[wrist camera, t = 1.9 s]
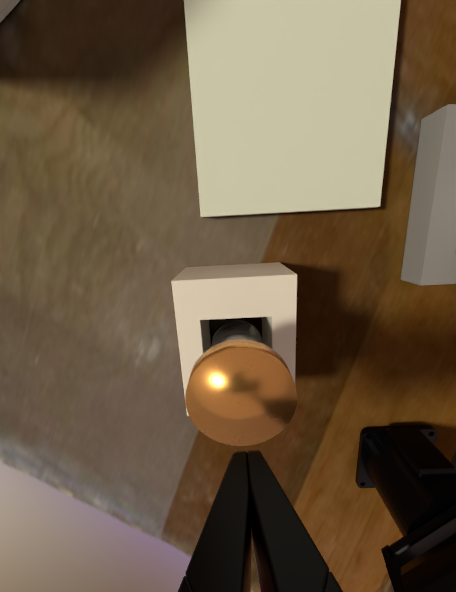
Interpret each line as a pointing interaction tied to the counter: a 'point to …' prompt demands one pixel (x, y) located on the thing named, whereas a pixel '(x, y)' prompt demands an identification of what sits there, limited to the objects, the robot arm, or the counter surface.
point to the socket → (433, 204)
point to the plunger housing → (235, 307)
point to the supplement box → (6, 7)
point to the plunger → (240, 388)
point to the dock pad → (290, 102)
